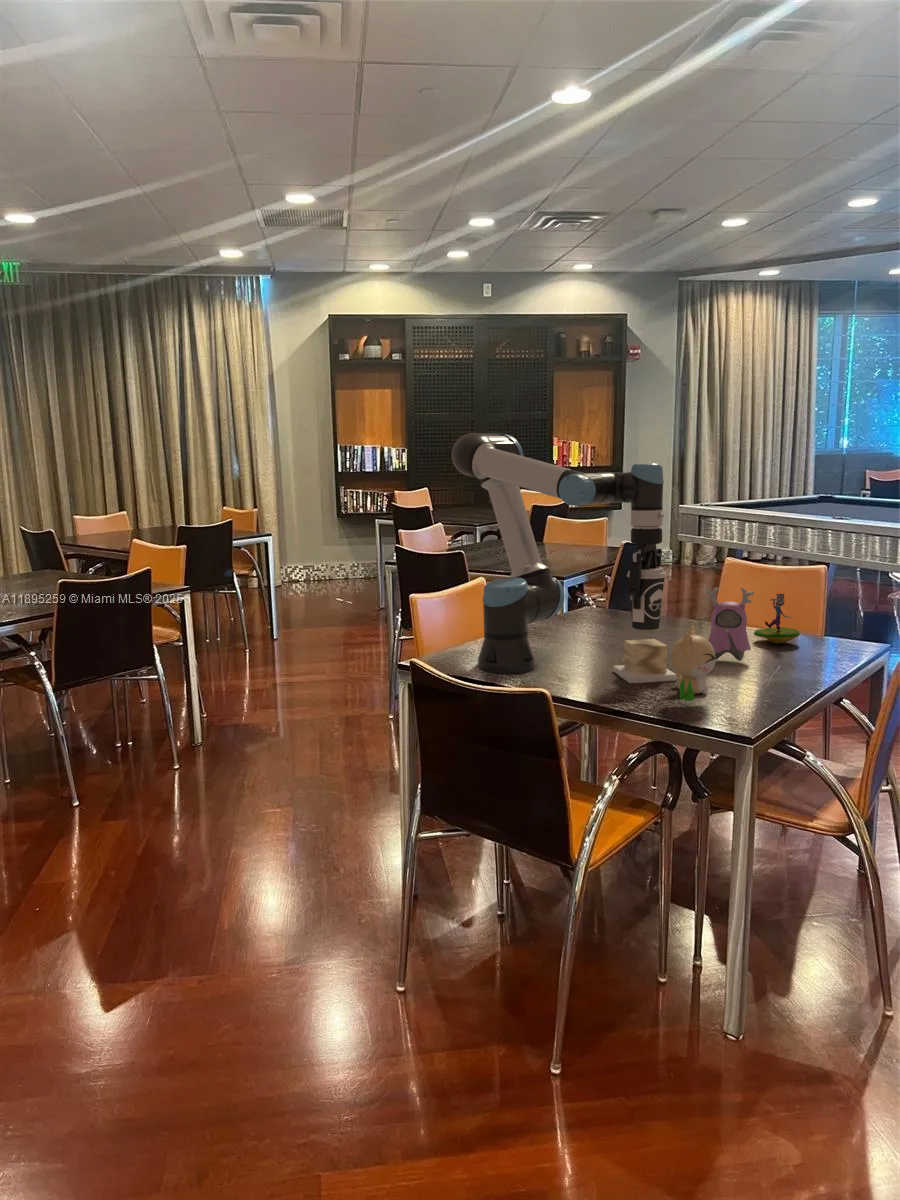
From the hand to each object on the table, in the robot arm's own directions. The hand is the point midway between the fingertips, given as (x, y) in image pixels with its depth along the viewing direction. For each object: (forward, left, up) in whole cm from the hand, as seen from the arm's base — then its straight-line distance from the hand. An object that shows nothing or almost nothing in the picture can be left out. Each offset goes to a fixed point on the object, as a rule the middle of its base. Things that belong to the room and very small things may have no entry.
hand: (645, 618), depth 204 cm
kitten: (+5, -17, -15) cm, 23 cm away
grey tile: (0, 0, -15) cm, 15 cm away
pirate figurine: (+51, +28, -15) cm, 60 cm away
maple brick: (0, 0, -13) cm, 13 cm away
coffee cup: (0, 0, -2) cm, 2 cm away
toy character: (+27, +11, -15) cm, 33 cm away
